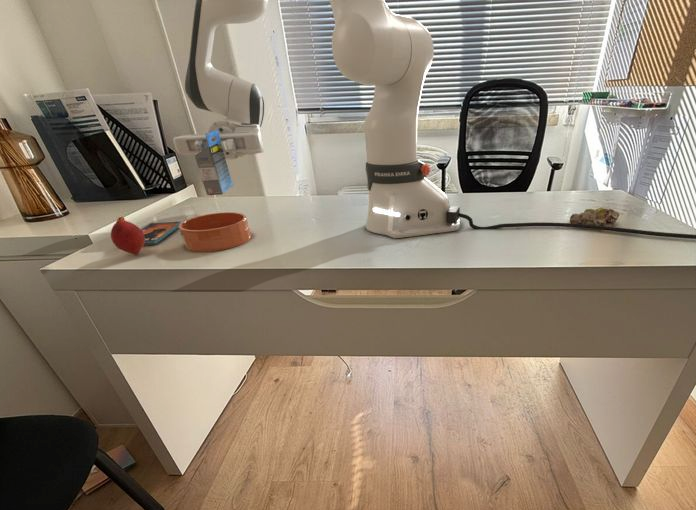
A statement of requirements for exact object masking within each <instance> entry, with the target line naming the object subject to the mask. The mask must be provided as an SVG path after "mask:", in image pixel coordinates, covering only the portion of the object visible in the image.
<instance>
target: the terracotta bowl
mask: <svg viewBox="0 0 696 510" xmlns="http://www.w3.org/2000/svg"><path fill="white" fill-rule="evenodd" d="M181 222H182V223H180V224H179V227H178V228H177V229H178V230H179V233H180V236H181V238H182V241H183V244H184V246H185V248H186V249H187V250H189V251H192V252H200V253H203V252H204V253H205V252H206V253H209V252H217V251H223V250H228V249H232V248H236V247H238V246H241V245H243V244H246V243H247V242H249V241H250V240H251V239H252V233H251V230H250V226H249V222H248V217H247V215H246V214H244V213H241V212H237V211H236V212H235V211H233V212H232V211H225V212H224V211H223V212H213V213H207V214H202V215H197V216H194V217H191V218H188V219H186V220H183V221H181Z"/></svg>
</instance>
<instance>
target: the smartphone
mask: <svg viewBox="0 0 696 510" xmlns="http://www.w3.org/2000/svg"><path fill="white" fill-rule="evenodd" d="M182 222H183V221H166V222H163V221H162V222H151V223H148V224H147V225H146V226H144V227H142V228H141V231H142V232H143V234H144V237H145V244H144V245H143V246H155V245H158V244H159V243H160V242H161V241H162V240H164V239H165V238H167V236H169V235H170V234H172V233H173V232H175V231H176V230H177V229H179V228H178V227H179V224H180V223H182Z"/></svg>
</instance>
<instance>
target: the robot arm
mask: <svg viewBox="0 0 696 510" xmlns="http://www.w3.org/2000/svg"><path fill="white" fill-rule="evenodd" d="M328 1H329V4H330V7H331V10H332V15H333V20H334V28H333V31H332V35H331V53H332V58H333V61H334V64H335V66H336V68H337V70H338V71H339V72H340V73H341V75H342V76H343V77H344V78H345V79H347V80H349V81H352V82H355V83H356V84H360V85H363V86H367V87H371V86H373V87H374V93H373V98H372V103H371V107H370V109H369V111H368V113H367V115H366V117H365V118H364V119H365V120H364V124H363V126H364V128H363V129H364V138H365V139H364V140H365V152H366V162H365V182H366V187H367V190H368V207H367V218H366V222H365V228H366V230H367V231H369V232H371V233H374V234H377V235H383V236H384V235H385V236H387V237H390V238H394V239H401V238H402V239H403V238H409V237H416V236H424V235H425V236H426V235H432V234H440V233H449V232H455V231H458V230H460V228H461V220H460V218H462V219H465V220H467V221H468V224H469V227H470V228H472V229H474V230H496V229H503V228H522V227H523V228H525V227H558V228H559V227H560V228H578V229H587V230H588V229H590V230H598V231H606V232H617V233H626V234H635V235H642V236H643V235H645V236H651V237H652V236H653V237H664V238H677V239H688V240H689V239H691V240H696V234H693V233H691V234H690V233H677V232H663V231H653V230H644V229H643V230H642V229H634V228H625V227H618V226H612V227H608V226H598V225H587V224H573V223H570V222H545V221H544V222H543V221H541V222H538V221H537V222H513V223H512V222H511V223H508V222H507V223H498V224H494V225H487V226H479V225H476V224H474V222H473V218H472V217H471V216H470V215H468V214H466V213H461V206H458V205H457V206H456V205H455V206H454V205H451V204H450V199H449V197H448V195H447V194H446V193H445V192H444V191H443V190H441V189H440V188H439V187H438V186H436V184H434V183H433V182H432V181H430V179H428V178H427V176H428V175H429V174H430V173H431V170H432V169H431V167H430V166H429V164H427V163H425V162H423V161H422V160H419V159H418V117H419V109H420V103H421V97H422V91H423V87H424V83H425V78H426V76H427V73H428V72H429V70H430V68H431V66H432V63H433V60H434V54H435V48H434V47H435V45H434V40H433V38H432V35H431V33H430V32H429V30H428V29H427V28H426V27H425V26H424V25H423V24H422V23H421V22H419V21H418V20H416V19H415V18H413V17H411V16H408V15H403V14H397V13H395V12H393V11H392V10H391V9H390V8H389V7H388V5H387V3H386V0H328ZM268 3H269V0H195V4H194V11H193V12H194V13H193V20H192V29H191V38H190V49H189V57H188V63H187V68H186V74H185V78H184V90H185V94H186V95H187V97H188V99H189V100H190V101H191V103H192V104H193V105H194V106H195V108H197V109H199V110H204V111H207V112H211V113H212V112H213V113H216V114H218V115H221V116H224V117H226V118H223V119H220V120H216V121H214V122H213V123H212V124H211V125H210V126H209V128H208V130H207V133H209V132H211V131H214V130H217V129H218V131H219V136H220V142H217V146H218V150H219V151H223V152H224V156H225V159H226V160H230V161H231V160H236V159H238V158H243V157H244V156H248V155H255V154H256V155H257V154H263V153H264V152H265V146H264V139H263V136H262V132H261V128H262V125H263V121H264V117H265V116H264V115H265V101H264V97H263V95H262V92H261V91H260V89H259V87H258V86H257V85H256V83H253V82H251V81H249V80H247V79H244V78H241V77H238V76H236V75H232V74H230V73H228V72H224V71H222V70H219V69H217V68H215V67H214V66H213V63H212V62H211V61H212V54H213V49H214V48H213V47H214V40H215V34H216V30H217V27H218V26H221V25H230V24H231V25H233V24H235V25H237V24H247V23H252V22H254V21H256V20H259V18H261V17H262V16H263V15H264V14H265V12H266V10H267V8H268ZM214 140H216V138H215V137H213V138H212V141H214ZM172 141H173V145H174V148H175V151H176V153H177V154H178V155H197V154H198V153H200V152H201V151H203V150H204V149H206V148H207V147H208V142H207V138H206V133H191V134H184V135H179V136H174V137H173V139H172Z"/></svg>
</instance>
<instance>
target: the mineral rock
mask: <svg viewBox="0 0 696 510" xmlns="http://www.w3.org/2000/svg"><path fill="white" fill-rule="evenodd" d="M619 217H620V212H618V211H616V210H614V209H613V208H605V207H599V208H595V209H593V208H586V209H585V210H584V212H580V213H572V214H571V216H570V217H569V223H573V224H587V225H598V226H608V227H613V225H614V224H615V223H616V222H617V221H618V220H619Z"/></svg>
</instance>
